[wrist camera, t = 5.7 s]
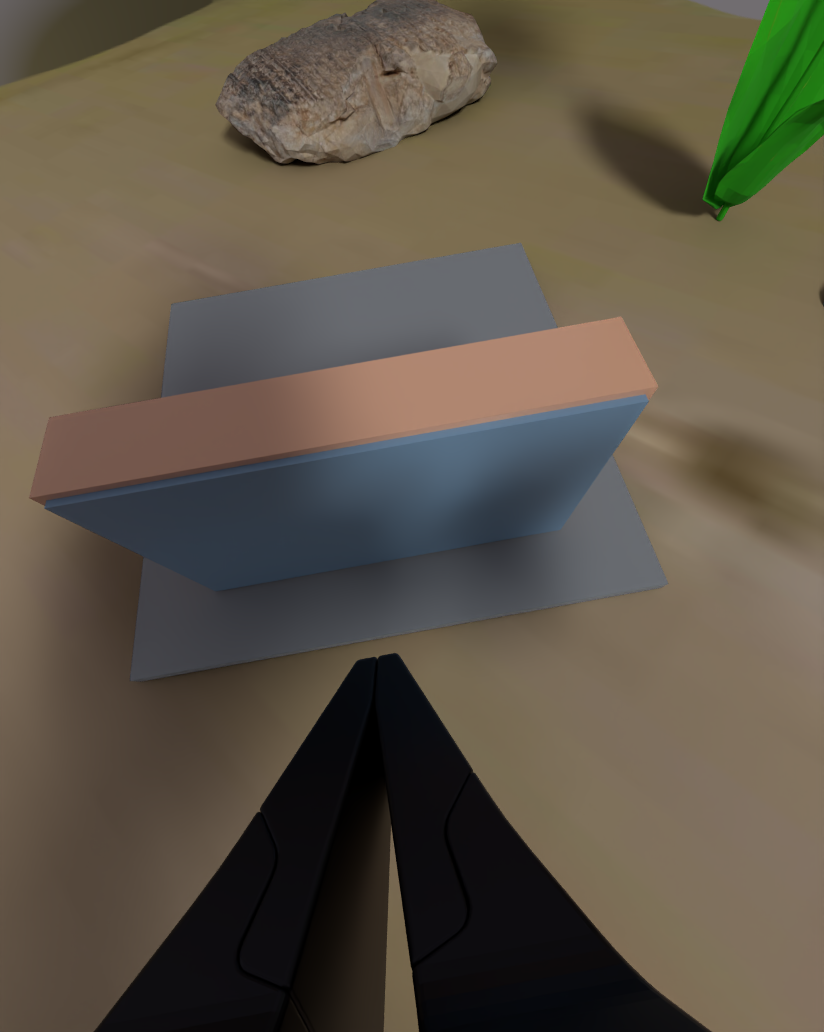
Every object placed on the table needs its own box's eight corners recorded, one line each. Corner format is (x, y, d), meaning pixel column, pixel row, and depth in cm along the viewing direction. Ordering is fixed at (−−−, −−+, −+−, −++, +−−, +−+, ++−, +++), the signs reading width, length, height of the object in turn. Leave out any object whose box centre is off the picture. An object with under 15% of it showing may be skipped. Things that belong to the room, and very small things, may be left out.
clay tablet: (277, 209, 28) (518, 101, 31) (244, 116, 24) (528, 0, 27) (210, 130, 34) (418, 45, 37) (173, 43, 29) (413, -46, 32)
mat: (660, 587, 16) (668, 583, 15) (140, 681, 16) (129, 680, 15) (519, 253, 24) (520, 242, 24) (177, 313, 24) (171, 303, 23)
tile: (564, 530, 16) (662, 393, 9) (213, 593, 16) (27, 505, 9) (546, 478, 17) (621, 316, 10) (215, 537, 17) (49, 417, 10)
